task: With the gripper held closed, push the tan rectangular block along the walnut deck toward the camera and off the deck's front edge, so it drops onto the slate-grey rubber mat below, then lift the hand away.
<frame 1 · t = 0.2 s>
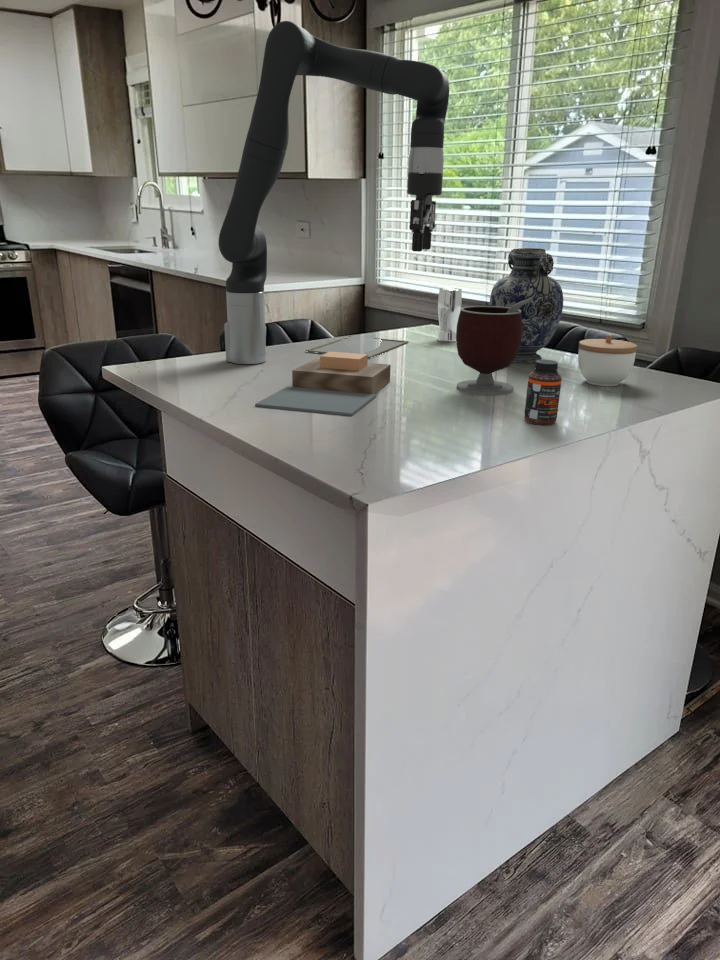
hand: (421, 250, 163), 28 cm above the countertop, tool pointing down, fingers open, 8 cm apart
walnut deck: (342, 385, 161), on the countertop
picture frame: (359, 349, 206), on the countertop
slate mat: (317, 401, 148), on the countertop
mate gourd: (488, 389, 160), on the countertop
supplement bottle: (540, 422, 136), on the countertop
tan rectangular block: (344, 360, 161), point 5 cm above the countertop, touching walnut deck
lidded bowl: (602, 383, 168), on the countertop
beer glass: (447, 340, 220), on the countertop
decorative vase: (520, 359, 194), on the countertop
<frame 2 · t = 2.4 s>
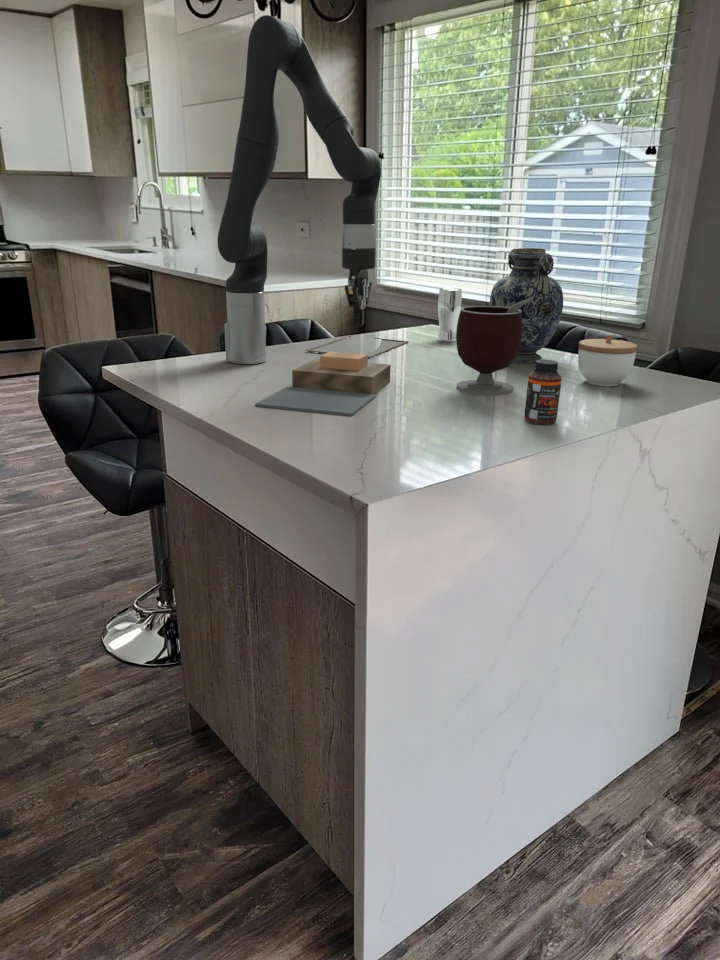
hand: (358, 325, 167), 12 cm above the countertop, tool pointing down, fingers closed
nothing on the countertop moved.
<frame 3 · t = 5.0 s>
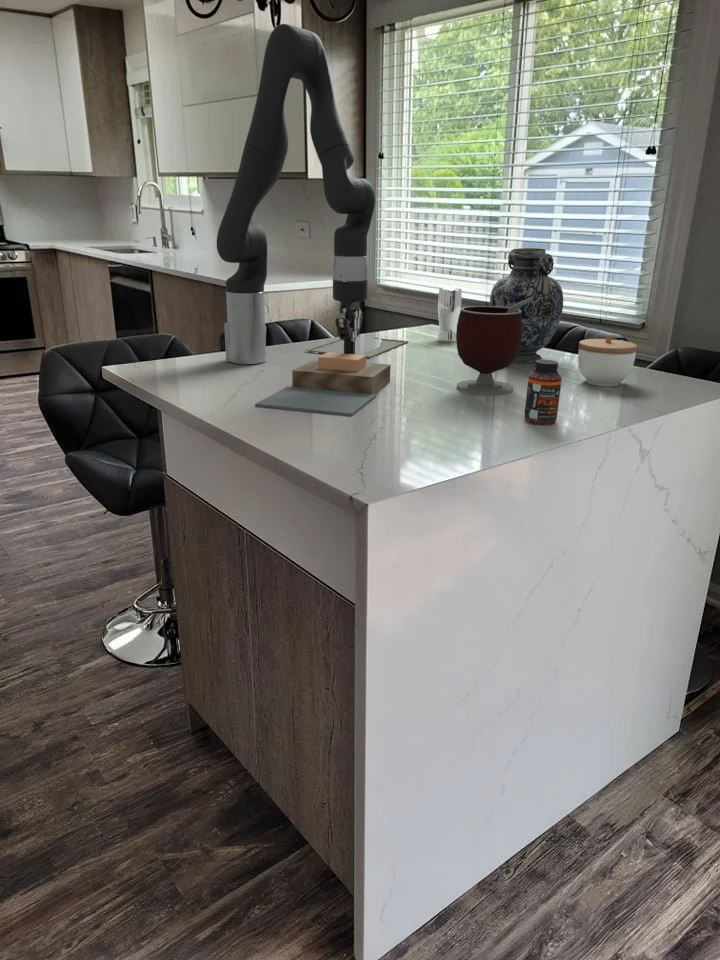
hand: (349, 357, 163), 5 cm above the countertop, tool pointing down, fingers closed
tan rectangular block: (342, 361, 160), point 5 cm above the countertop, touching gripper
everything else where it was.
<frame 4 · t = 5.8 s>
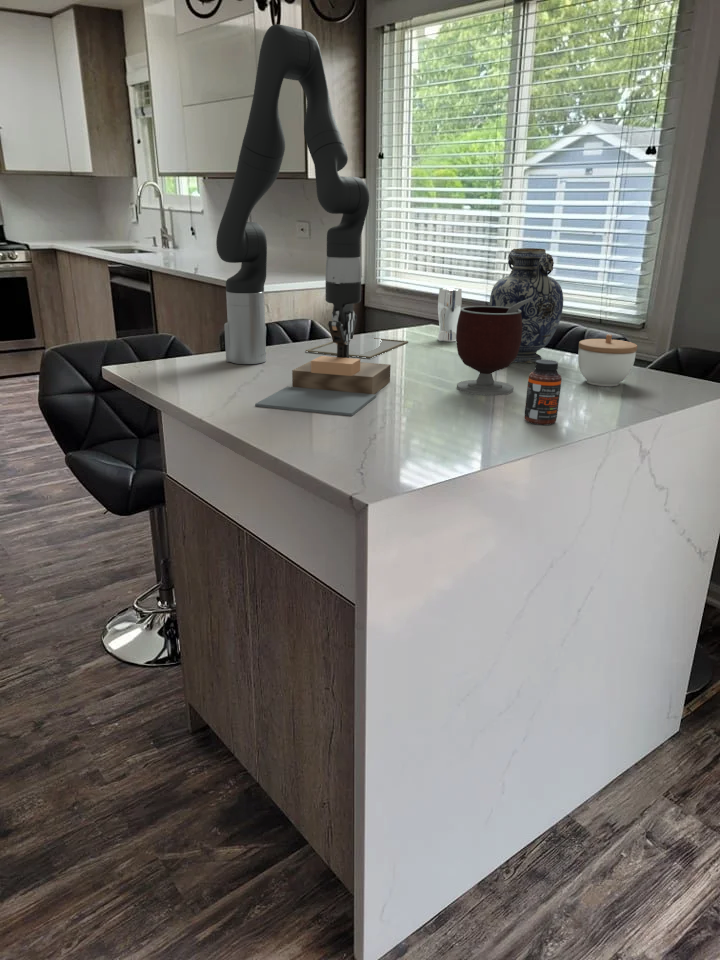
hand: (342, 361, 159), 5 cm above the countertop, tool pointing down, fingers closed
tan rectangular block: (335, 365, 155), point 5 cm above the countertop, touching gripper
everything else where it was.
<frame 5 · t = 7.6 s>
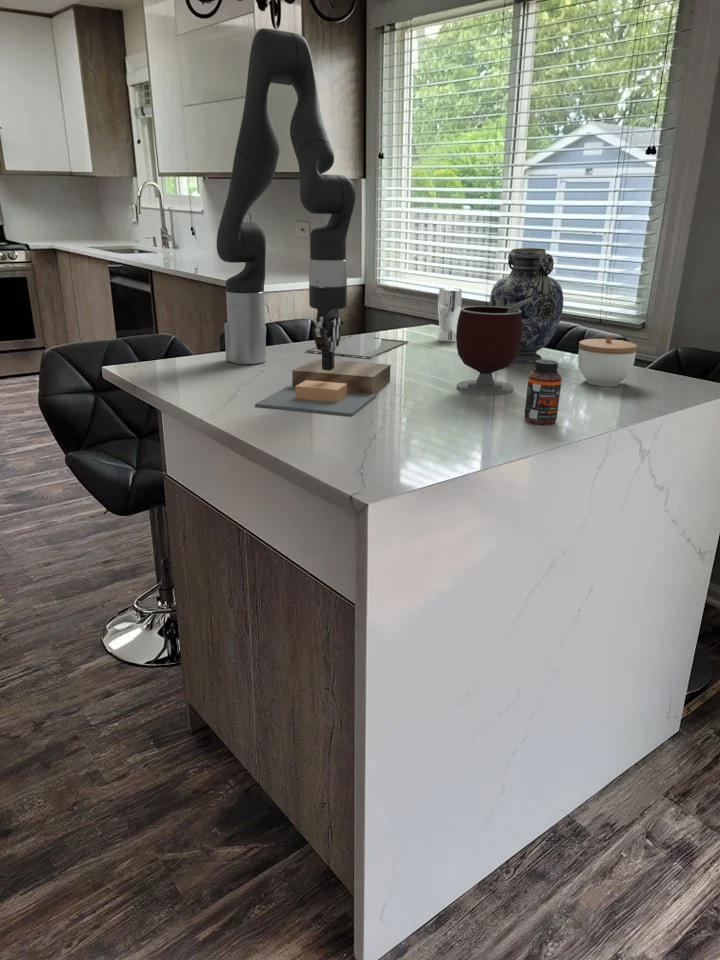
hand: (328, 369, 151), 5 cm above the countertop, tool pointing down, fingers closed
tan rectangular block: (321, 390, 149), point 2 cm above the countertop, tilted 180°, touching slate mat
everything else where it was.
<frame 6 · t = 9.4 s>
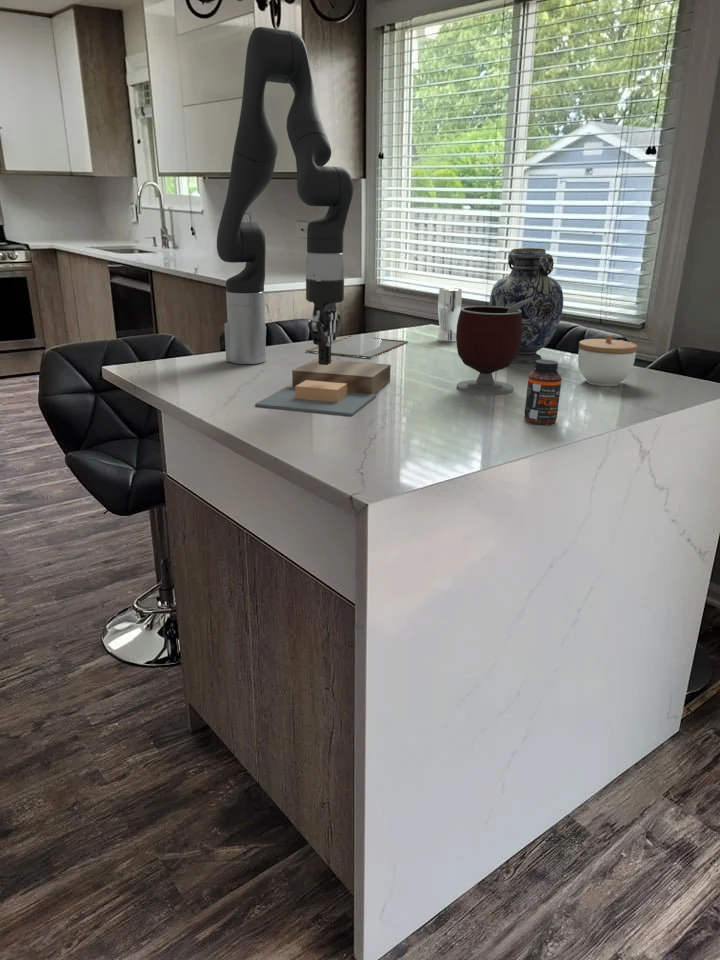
hand: (324, 364, 149), 7 cm above the countertop, tool pointing down, fingers closed
nothing on the countertop moved.
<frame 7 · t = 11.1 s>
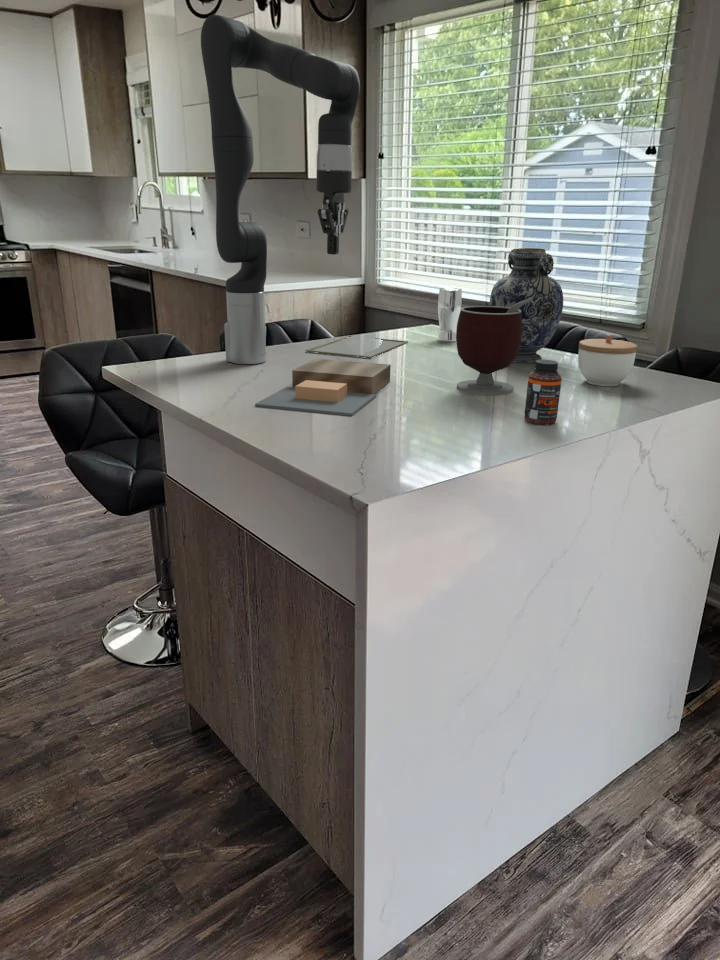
hand: (332, 254, 161), 27 cm above the countertop, tool pointing down, fingers closed
nothing on the countertop moved.
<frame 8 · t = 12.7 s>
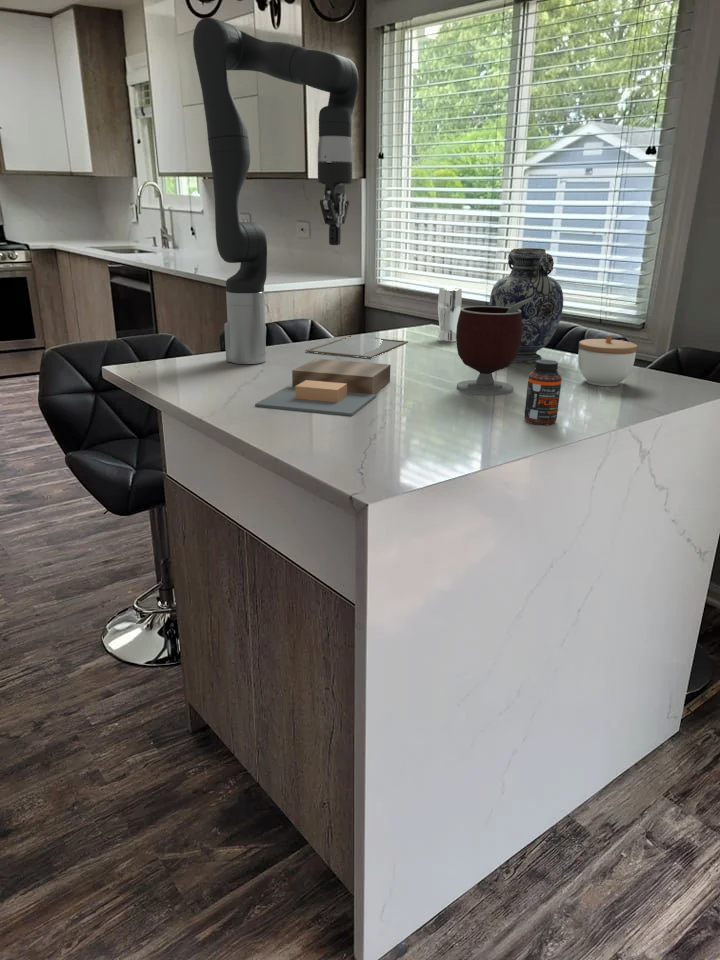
hand: (334, 244, 163), 29 cm above the countertop, tool pointing down, fingers closed
nothing on the countertop moved.
at the end: tan rectangular block inside the target area on the slate mat (1.9 cm from its centre), point 1.7 cm above the slate mat's base; tan rectangular block point 1.7 cm above the countertop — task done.
